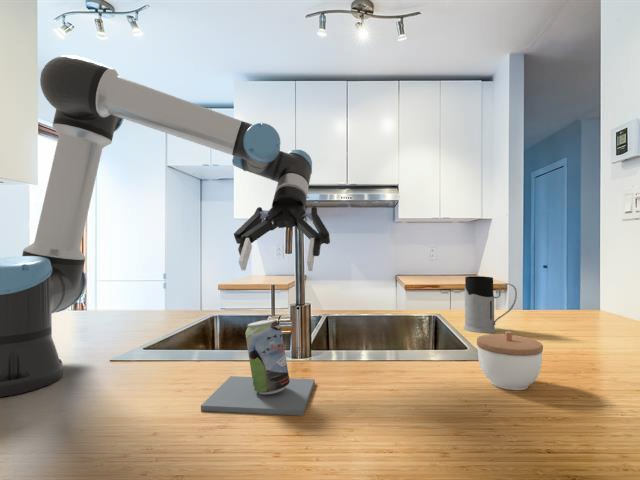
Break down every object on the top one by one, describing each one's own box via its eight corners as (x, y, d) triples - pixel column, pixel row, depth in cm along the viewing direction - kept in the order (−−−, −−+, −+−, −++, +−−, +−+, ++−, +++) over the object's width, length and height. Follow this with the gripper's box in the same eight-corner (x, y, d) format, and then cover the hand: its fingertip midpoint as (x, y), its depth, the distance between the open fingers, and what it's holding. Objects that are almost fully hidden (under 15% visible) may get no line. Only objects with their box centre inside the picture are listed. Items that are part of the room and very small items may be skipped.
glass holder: (468, 324, 118) (467, 275, 118) (519, 330, 110) (519, 277, 110) (459, 330, 111) (459, 278, 111) (514, 337, 103) (513, 280, 103)
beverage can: (284, 399, 62) (282, 324, 62) (240, 397, 63) (239, 323, 63) (294, 385, 68) (292, 316, 68) (254, 383, 69) (252, 316, 69)
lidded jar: (516, 400, 63) (516, 342, 63) (464, 379, 72) (463, 329, 72) (556, 388, 68) (556, 334, 68) (502, 370, 77) (502, 323, 77)
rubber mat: (200, 410, 60) (200, 405, 60) (230, 380, 73) (230, 376, 73) (302, 415, 58) (302, 410, 58) (314, 383, 71) (314, 379, 71)
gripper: (344, 209, 92) (339, 279, 77) (242, 210, 95) (219, 277, 80) (343, 183, 87) (337, 253, 72) (235, 185, 90) (209, 253, 75)
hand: (275, 266), depth 76 cm, fingers open, 13 cm apart
